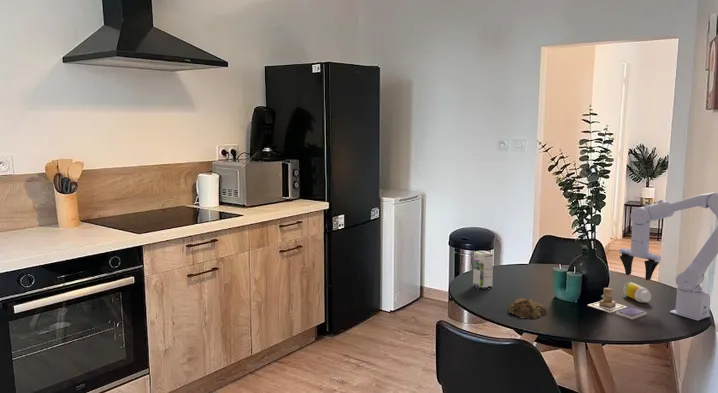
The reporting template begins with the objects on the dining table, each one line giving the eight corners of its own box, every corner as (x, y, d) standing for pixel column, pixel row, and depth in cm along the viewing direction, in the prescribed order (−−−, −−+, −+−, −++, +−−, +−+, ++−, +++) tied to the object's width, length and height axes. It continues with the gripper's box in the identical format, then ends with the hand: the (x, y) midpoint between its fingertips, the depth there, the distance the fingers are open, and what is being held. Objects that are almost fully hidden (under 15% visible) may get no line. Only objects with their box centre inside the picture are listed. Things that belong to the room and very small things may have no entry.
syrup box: (472, 286, 222) (473, 251, 220) (484, 284, 225) (484, 249, 223) (481, 290, 217) (481, 254, 215) (493, 287, 219) (493, 252, 217)
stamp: (615, 305, 196) (616, 289, 195) (610, 308, 193) (611, 291, 192) (604, 303, 199) (605, 286, 198) (599, 305, 196) (600, 288, 195)
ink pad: (646, 314, 187) (646, 311, 187) (632, 319, 183) (632, 316, 183) (630, 309, 192) (630, 306, 192) (616, 314, 188) (616, 310, 188)
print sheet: (627, 307, 195) (627, 306, 195) (609, 312, 190) (609, 311, 190) (604, 300, 202) (604, 299, 202) (587, 305, 197) (587, 304, 197)
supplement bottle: (622, 296, 207) (639, 305, 197) (622, 282, 207) (639, 290, 197) (636, 295, 208) (653, 303, 198) (636, 281, 207) (653, 289, 197)
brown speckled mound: (519, 304, 200) (519, 291, 199) (551, 312, 191) (551, 299, 191) (500, 313, 191) (500, 299, 191) (533, 322, 182) (533, 308, 182)
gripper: (666, 242, 192) (664, 280, 194) (628, 235, 204) (626, 270, 206) (654, 245, 188) (652, 283, 190) (616, 237, 200) (614, 273, 202)
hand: (638, 277), depth 198 cm, fingers open, 7 cm apart
